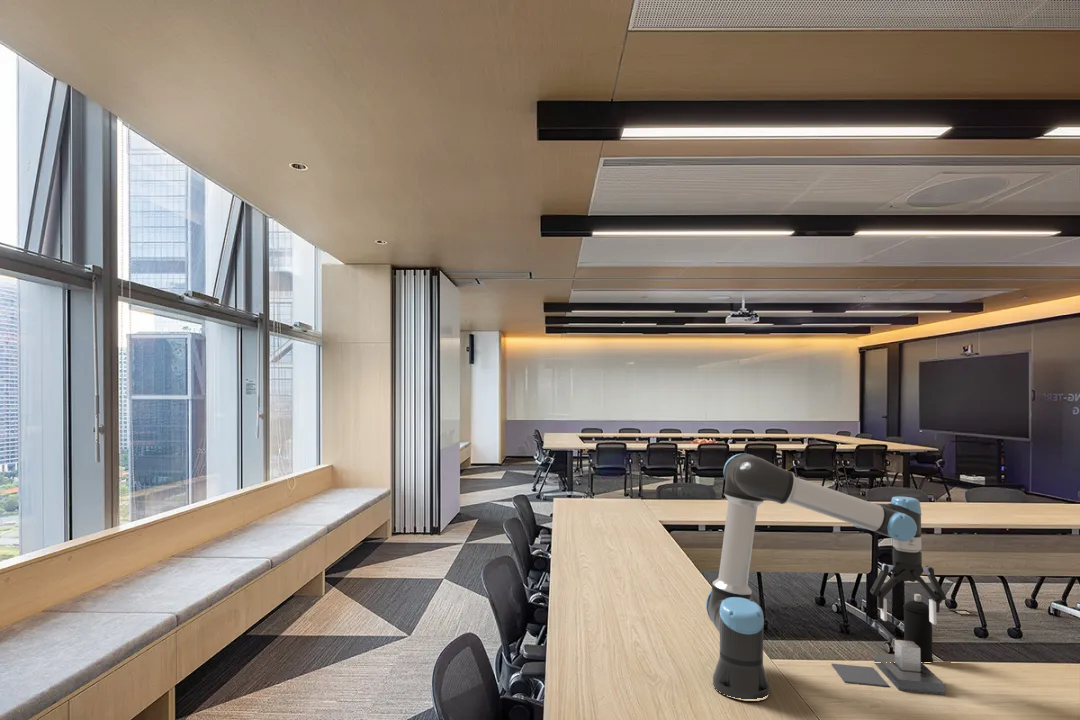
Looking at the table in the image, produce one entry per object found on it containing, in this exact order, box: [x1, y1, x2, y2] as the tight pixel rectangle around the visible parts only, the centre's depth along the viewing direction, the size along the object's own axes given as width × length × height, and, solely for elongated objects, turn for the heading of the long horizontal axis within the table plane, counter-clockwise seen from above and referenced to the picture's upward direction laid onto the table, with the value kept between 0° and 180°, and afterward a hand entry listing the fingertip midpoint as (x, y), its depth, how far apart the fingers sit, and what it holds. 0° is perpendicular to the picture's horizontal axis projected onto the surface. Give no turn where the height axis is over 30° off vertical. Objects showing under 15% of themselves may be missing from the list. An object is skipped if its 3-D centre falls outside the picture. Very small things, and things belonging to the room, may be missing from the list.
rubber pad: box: [830, 663, 890, 688], centre depth 180 cm, size 12×12×1 cm
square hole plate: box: [873, 652, 946, 696], centre depth 179 cm, size 12×18×3 cm, turn 171°
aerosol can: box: [902, 593, 934, 663], centre depth 195 cm, size 8×8×20 cm
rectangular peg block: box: [894, 639, 921, 673], centre depth 180 cm, size 5×5×10 cm
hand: (908, 621), depth 180 cm, fingers open, 13 cm apart
